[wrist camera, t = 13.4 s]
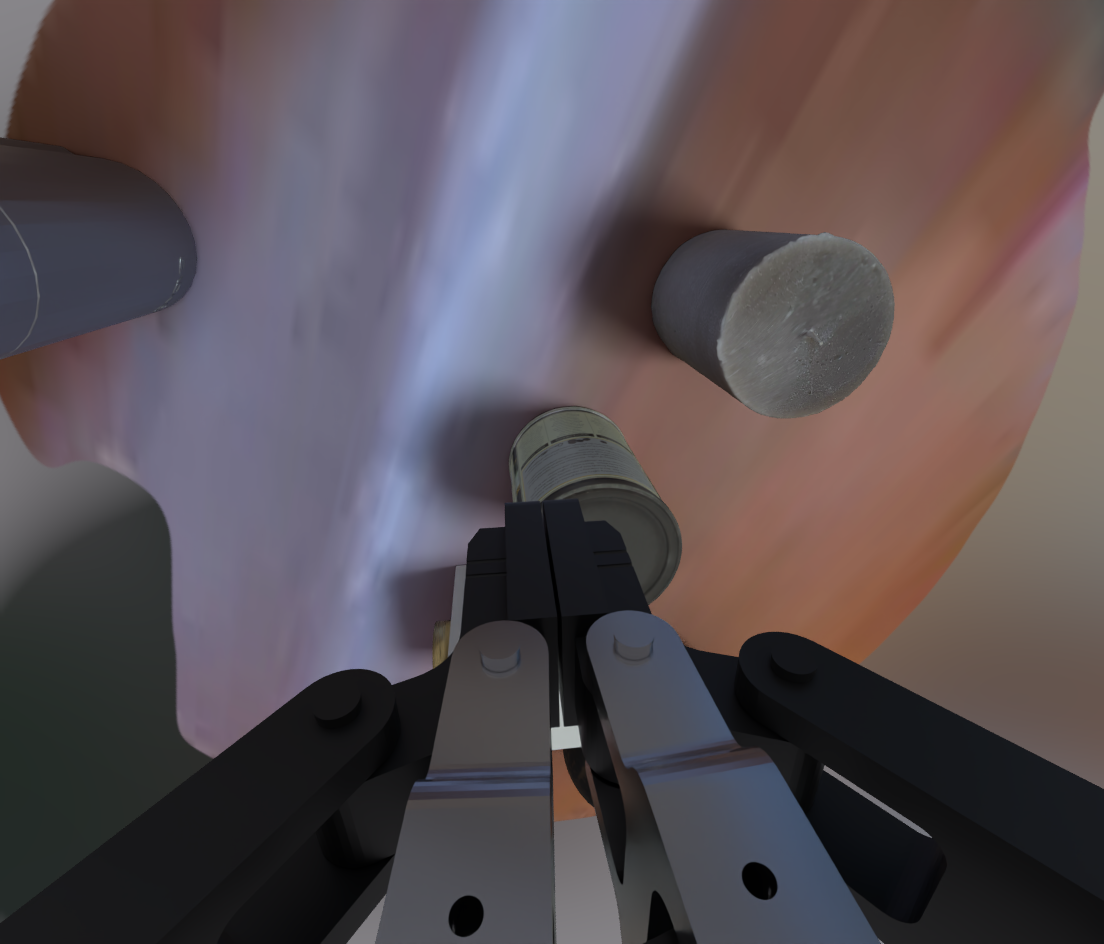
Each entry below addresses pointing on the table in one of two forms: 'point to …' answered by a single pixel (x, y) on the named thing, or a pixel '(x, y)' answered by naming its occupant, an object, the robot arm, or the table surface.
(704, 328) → the pillar candle
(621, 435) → the coffee can
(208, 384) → the table surface
